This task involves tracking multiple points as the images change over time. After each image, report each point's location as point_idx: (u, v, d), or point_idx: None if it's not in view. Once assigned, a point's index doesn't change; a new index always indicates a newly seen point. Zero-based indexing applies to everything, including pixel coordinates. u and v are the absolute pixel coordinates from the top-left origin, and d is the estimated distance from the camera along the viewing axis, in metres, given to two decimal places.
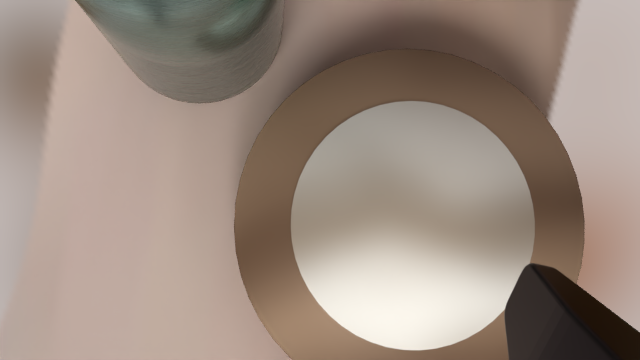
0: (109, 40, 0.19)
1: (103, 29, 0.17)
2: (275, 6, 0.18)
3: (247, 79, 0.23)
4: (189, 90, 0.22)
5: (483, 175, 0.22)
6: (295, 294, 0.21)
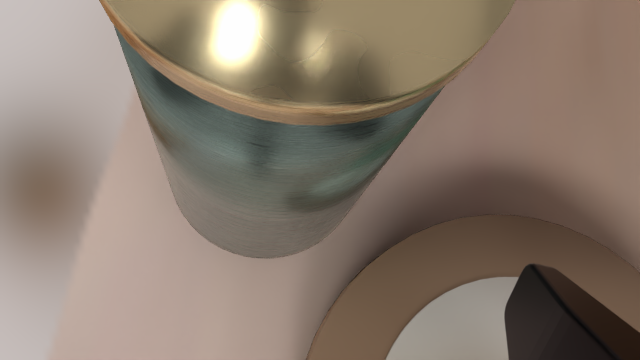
0: (179, 184, 0.15)
1: (183, 173, 0.14)
2: None
3: (321, 236, 0.19)
4: (255, 245, 0.18)
5: None
6: None
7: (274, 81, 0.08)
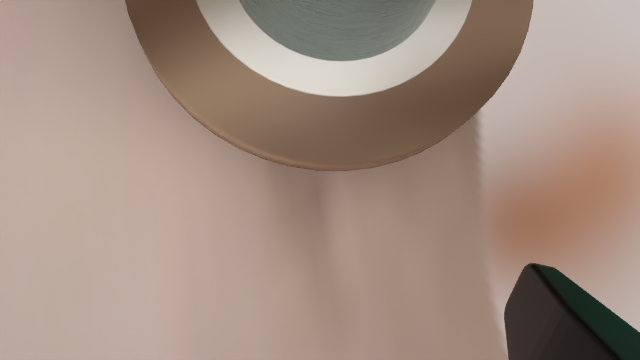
0: None
1: None
2: None
3: (402, 28, 0.17)
4: (331, 28, 0.16)
5: None
6: (207, 52, 0.18)
7: None
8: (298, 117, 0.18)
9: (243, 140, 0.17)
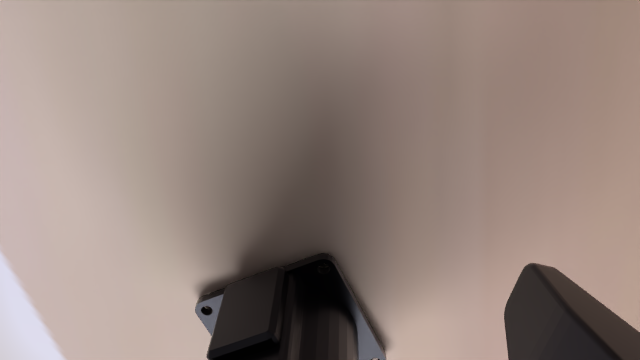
0: None
1: None
2: None
3: None
4: None
5: None
6: None
7: None
8: None
9: None
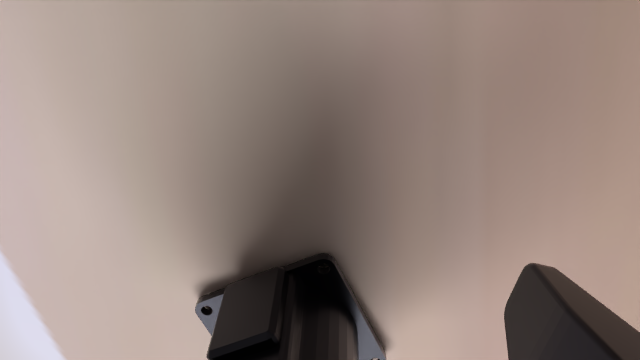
0: None
1: None
2: None
3: None
4: None
5: None
6: None
7: None
8: None
9: None
